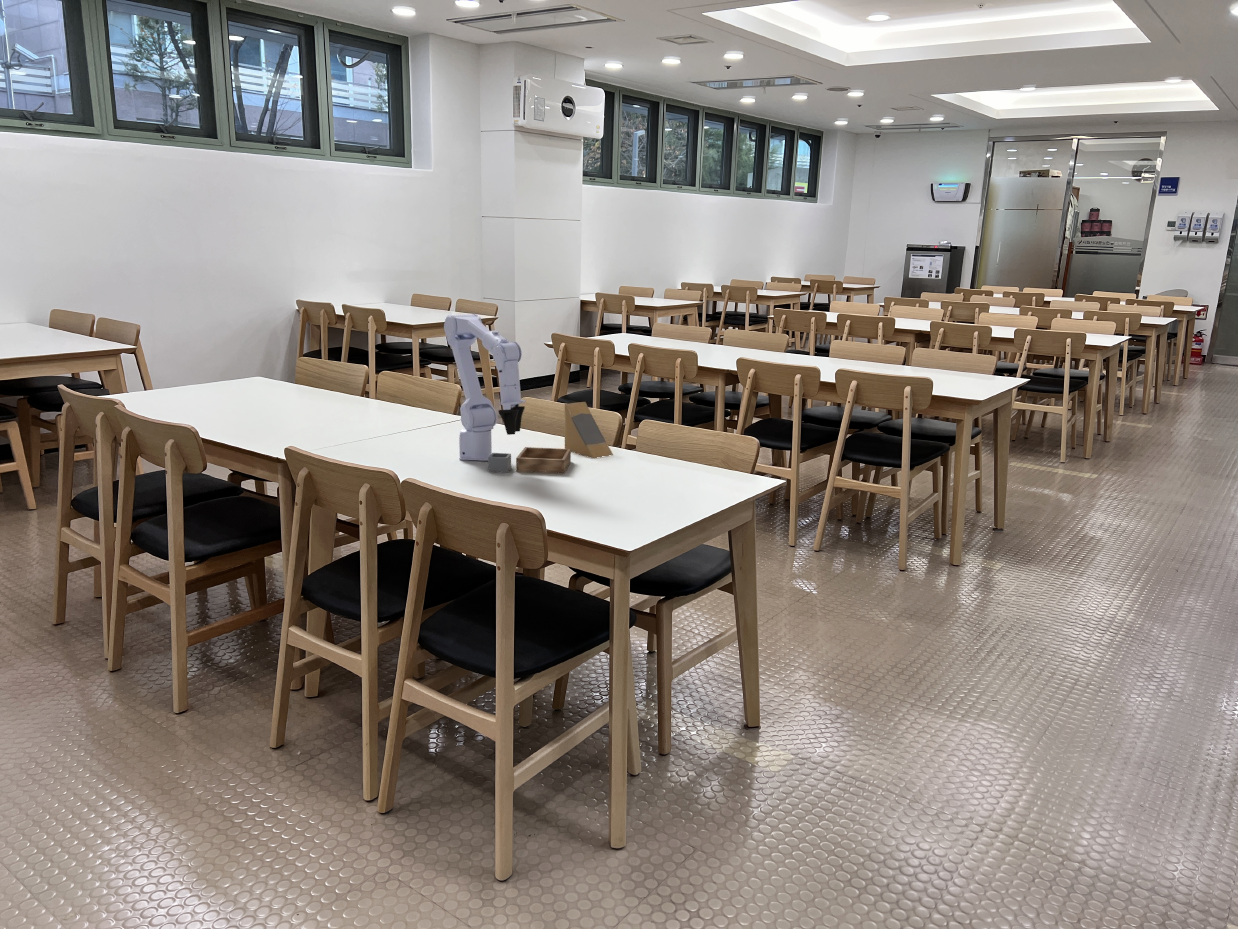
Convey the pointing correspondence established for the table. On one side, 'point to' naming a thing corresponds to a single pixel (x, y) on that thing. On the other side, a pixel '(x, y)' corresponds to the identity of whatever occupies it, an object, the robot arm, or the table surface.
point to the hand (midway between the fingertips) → (513, 432)
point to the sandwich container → (583, 432)
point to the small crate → (499, 462)
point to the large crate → (543, 460)
